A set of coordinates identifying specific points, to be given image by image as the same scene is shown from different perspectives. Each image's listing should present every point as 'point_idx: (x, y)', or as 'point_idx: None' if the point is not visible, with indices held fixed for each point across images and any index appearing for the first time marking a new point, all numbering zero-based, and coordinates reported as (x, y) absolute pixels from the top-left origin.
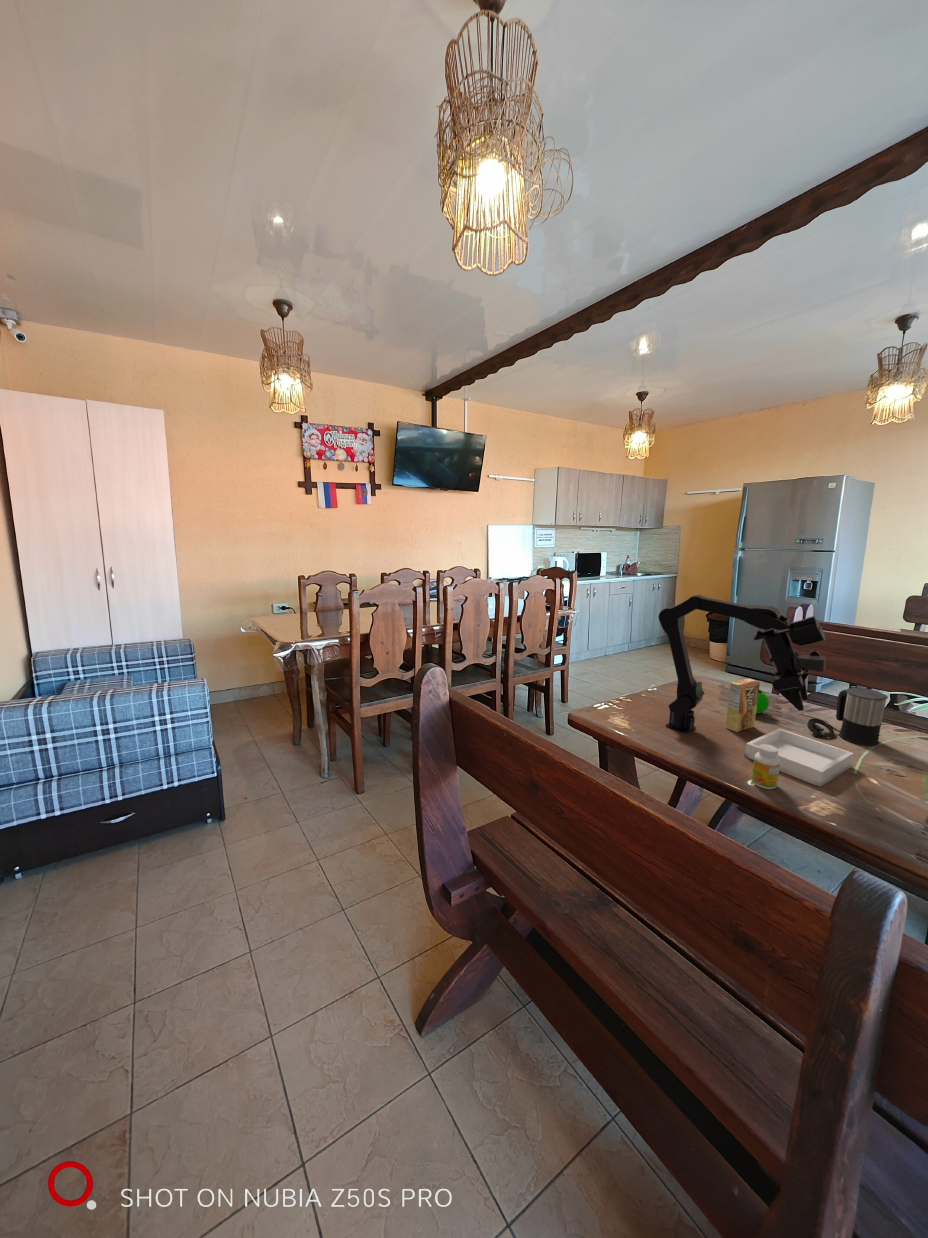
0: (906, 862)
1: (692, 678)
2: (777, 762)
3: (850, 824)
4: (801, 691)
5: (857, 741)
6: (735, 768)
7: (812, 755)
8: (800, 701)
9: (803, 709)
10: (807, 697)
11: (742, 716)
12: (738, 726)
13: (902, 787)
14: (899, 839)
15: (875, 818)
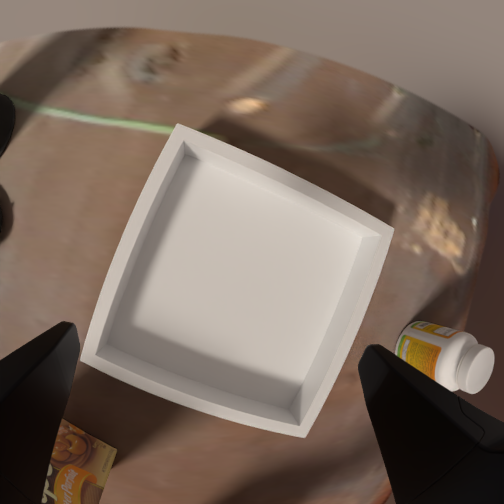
0: (491, 147)
1: None
2: (474, 337)
3: (463, 194)
4: (42, 402)
5: (6, 131)
6: None
7: (182, 245)
8: (438, 390)
9: (380, 346)
10: (59, 331)
11: (87, 469)
12: (108, 456)
13: (245, 58)
14: (456, 134)
15: (425, 147)
